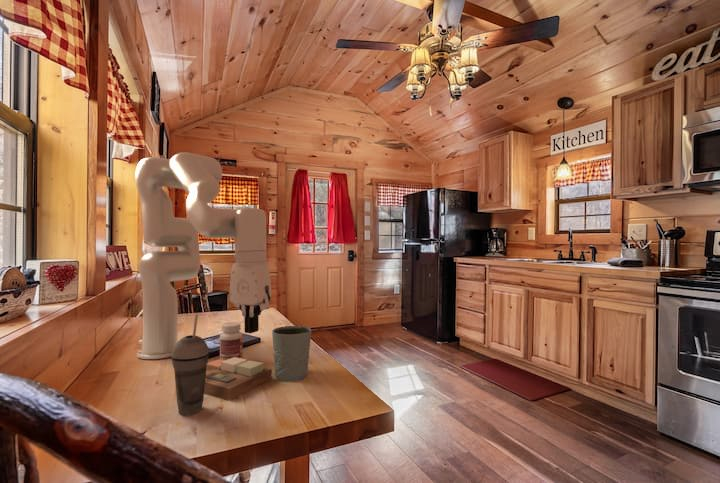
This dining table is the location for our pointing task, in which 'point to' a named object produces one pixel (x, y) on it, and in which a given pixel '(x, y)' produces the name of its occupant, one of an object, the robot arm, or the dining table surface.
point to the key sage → (249, 368)
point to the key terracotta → (215, 364)
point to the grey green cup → (291, 352)
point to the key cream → (232, 364)
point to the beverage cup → (190, 372)
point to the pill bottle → (231, 341)
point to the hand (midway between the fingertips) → (251, 331)
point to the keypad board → (232, 382)
